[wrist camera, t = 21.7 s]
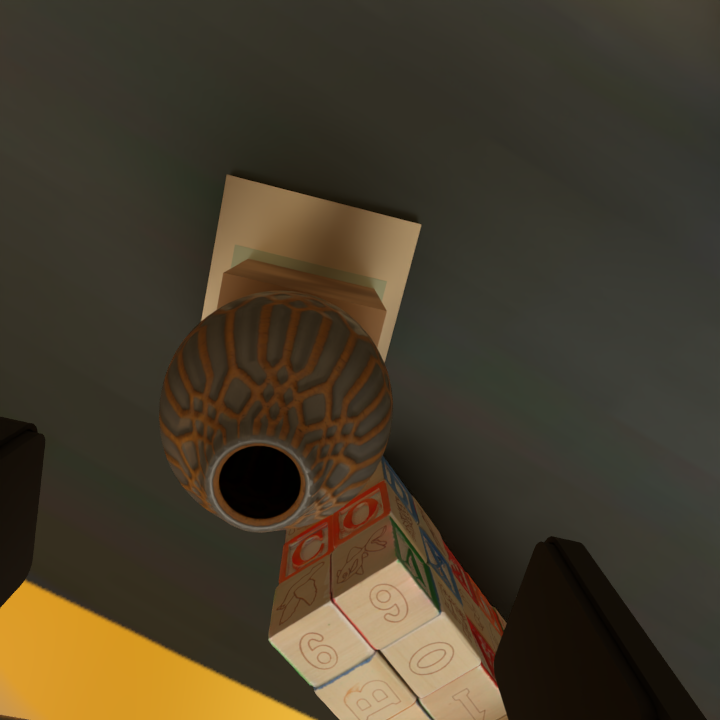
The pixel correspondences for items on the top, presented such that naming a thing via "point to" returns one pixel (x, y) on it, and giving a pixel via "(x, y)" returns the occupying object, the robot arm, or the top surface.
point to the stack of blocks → (386, 614)
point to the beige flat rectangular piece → (312, 242)
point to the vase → (275, 411)
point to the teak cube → (305, 291)
